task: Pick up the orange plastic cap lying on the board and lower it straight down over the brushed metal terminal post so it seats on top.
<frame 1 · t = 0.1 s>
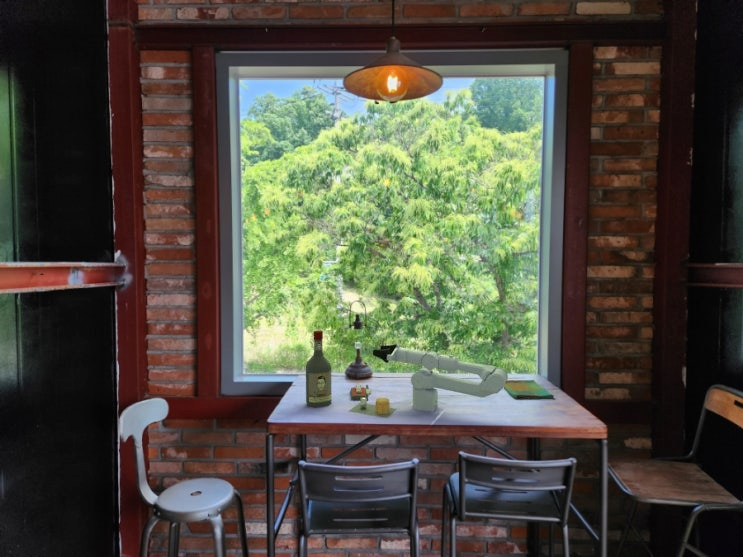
hand: (377, 350, 175), 22 cm above the table, tool horizontal, fingers open, 7 cm apart
post: (363, 408, 167), resting on board
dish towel: (524, 392, 192), on the table
board: (372, 412, 166), on the table
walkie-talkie: (360, 396, 186), on the table
liquor: (318, 405, 173), on the table
cap: (382, 411, 164), point 1 cm above the table, touching board
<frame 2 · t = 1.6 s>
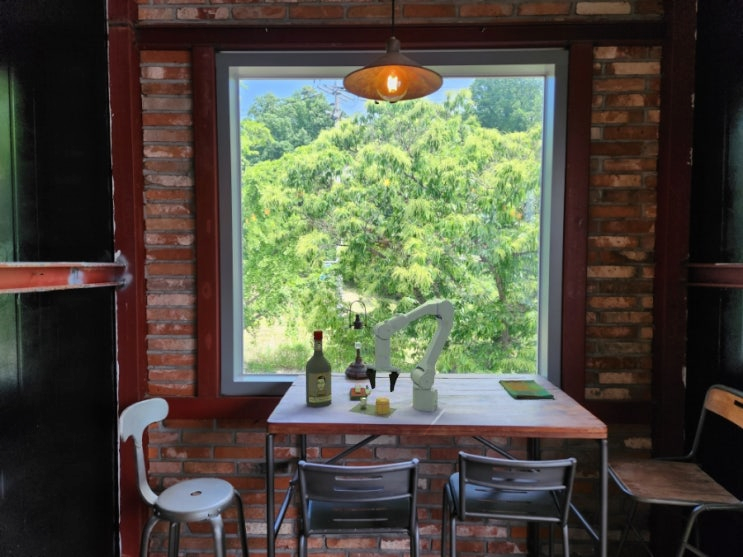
hand: (382, 389, 163), 9 cm above the table, tool pointing down, fingers open, 7 cm apart
nothing on the table moved.
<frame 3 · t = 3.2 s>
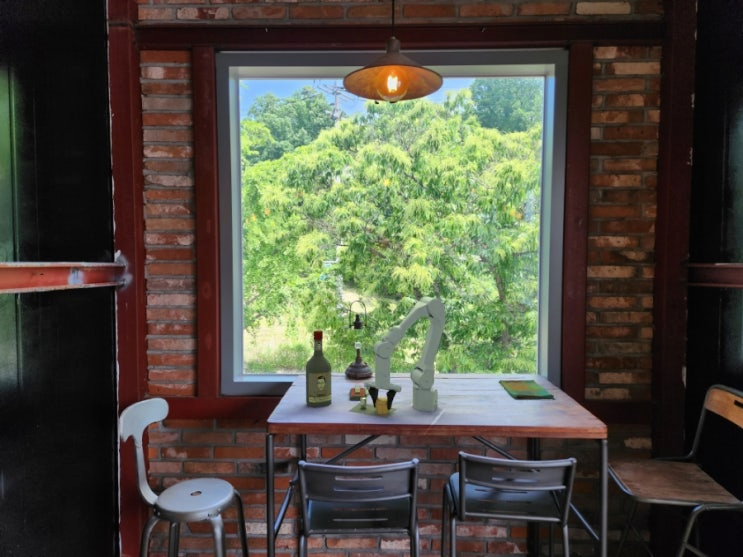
hand: (382, 408, 164), 2 cm above the table, tool pointing down, fingers closed on cap, 5 cm apart
cap: (382, 411, 164), point 1 cm above the table, touching board, gripper
everything else where it was.
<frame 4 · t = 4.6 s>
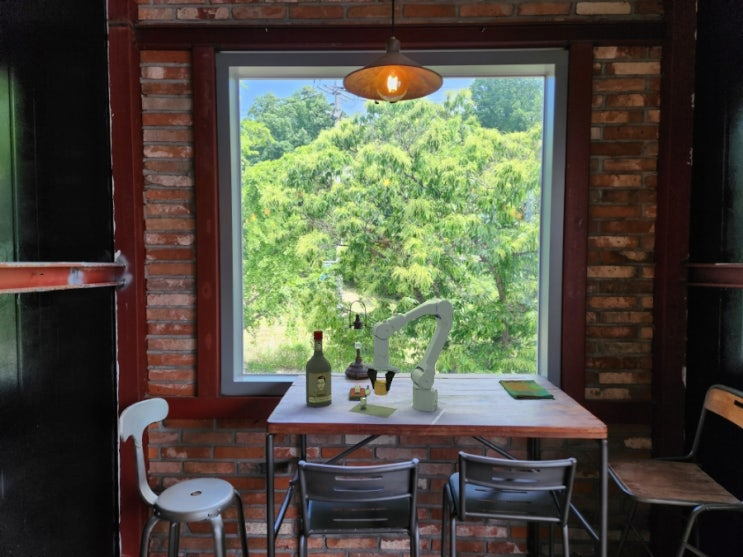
hand: (381, 389, 164), 9 cm above the table, tool pointing down, fingers closed on cap, 5 cm apart
cap: (381, 393, 164), point 8 cm above the table, touching gripper
everything else where it was.
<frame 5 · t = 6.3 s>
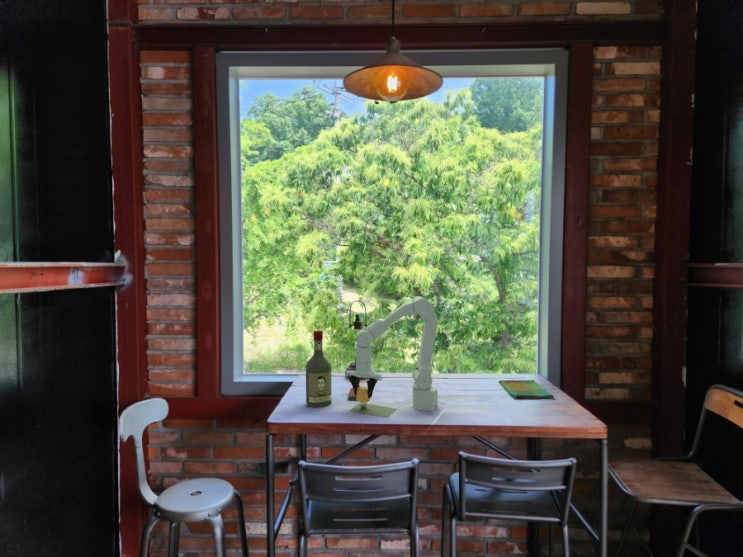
hand: (363, 396, 167), 6 cm above the table, tool pointing down, fingers closed on cap, 5 cm apart
cap: (363, 399, 167), point 4 cm above the table, touching gripper
everything else where it was.
when the fingers open (4 cm above the table, at t = 7.7 s): cap stays where it is, resting on post.
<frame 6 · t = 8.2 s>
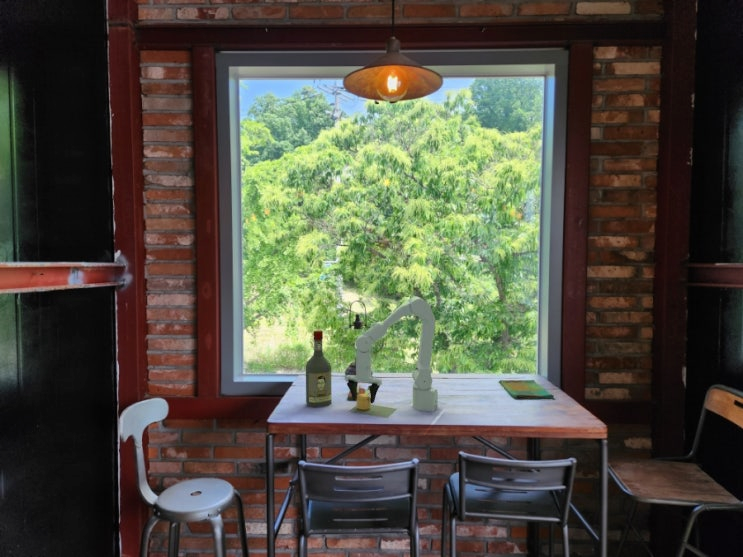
hand: (363, 401, 167), 4 cm above the table, tool pointing down, fingers open, 7 cm apart
cap: (363, 407, 167), point 2 cm above the table, touching post
everything else where it was.
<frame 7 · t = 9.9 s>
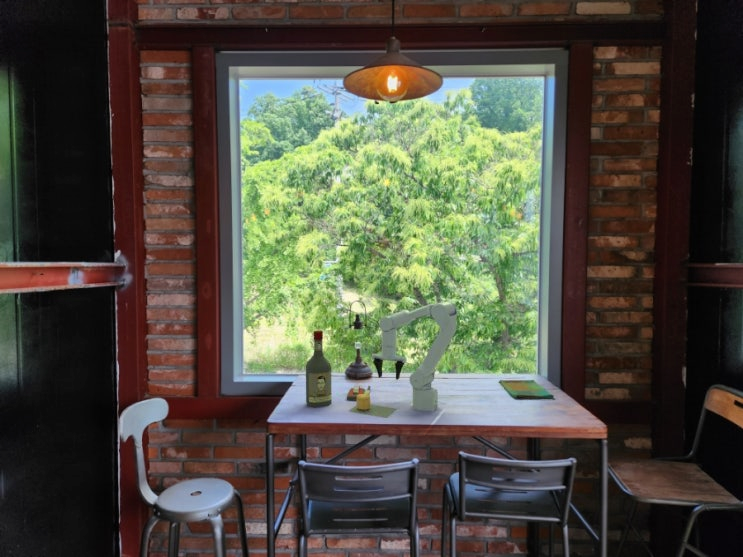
hand: (388, 377, 177), 10 cm above the table, tool pointing down, fingers open, 7 cm apart
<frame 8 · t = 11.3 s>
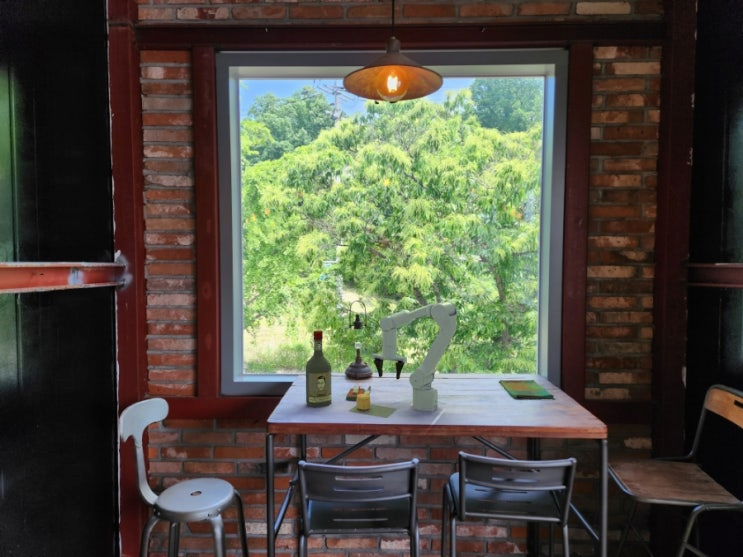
hand: (389, 377, 177), 10 cm above the table, tool pointing down, fingers open, 7 cm apart
at the end: cap 0.0 cm off-centre on the post, point 0.5 cm above the post's base; cap tilted 0°; the gripper is holding nothing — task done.
